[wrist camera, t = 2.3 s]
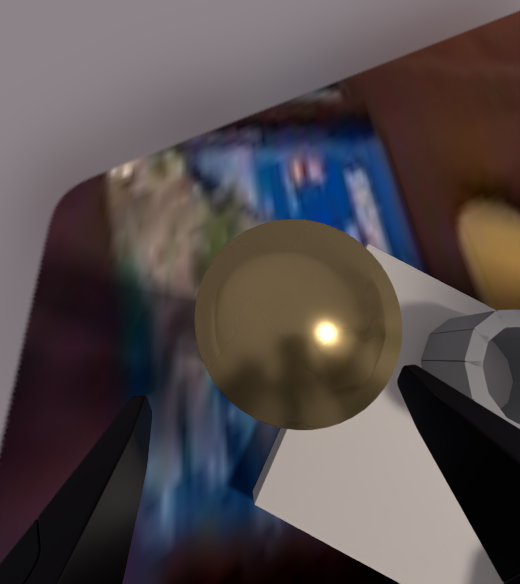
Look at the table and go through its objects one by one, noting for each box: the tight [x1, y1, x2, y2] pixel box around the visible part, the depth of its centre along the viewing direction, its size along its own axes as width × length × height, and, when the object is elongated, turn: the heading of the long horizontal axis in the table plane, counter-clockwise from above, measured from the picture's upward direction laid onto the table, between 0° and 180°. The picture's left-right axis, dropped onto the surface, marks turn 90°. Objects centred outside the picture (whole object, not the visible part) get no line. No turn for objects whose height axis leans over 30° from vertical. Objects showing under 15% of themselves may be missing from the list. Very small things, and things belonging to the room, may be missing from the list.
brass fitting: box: [194, 219, 402, 430], centre depth 12 cm, size 5×5×13 cm
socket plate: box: [253, 244, 520, 584], centre depth 16 cm, size 18×22×5 cm
